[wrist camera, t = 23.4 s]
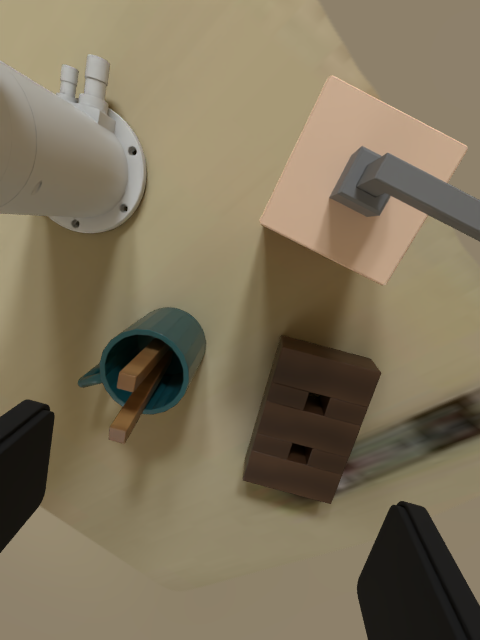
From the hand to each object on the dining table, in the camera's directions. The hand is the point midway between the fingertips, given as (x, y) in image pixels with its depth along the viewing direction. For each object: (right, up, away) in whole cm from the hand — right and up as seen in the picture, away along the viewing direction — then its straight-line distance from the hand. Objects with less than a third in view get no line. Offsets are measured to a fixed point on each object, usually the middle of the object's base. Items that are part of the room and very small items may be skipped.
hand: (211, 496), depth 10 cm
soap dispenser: (+11, +15, +27) cm, 33 cm away
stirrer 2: (-8, +1, +31) cm, 32 cm away
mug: (-9, +2, +32) cm, 33 cm away
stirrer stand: (+8, -6, +32) cm, 34 cm away
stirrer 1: (-7, +3, +31) cm, 31 cm away
